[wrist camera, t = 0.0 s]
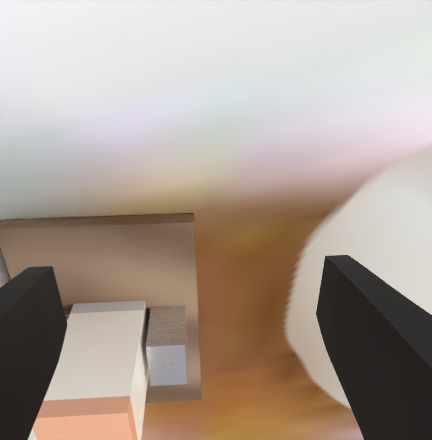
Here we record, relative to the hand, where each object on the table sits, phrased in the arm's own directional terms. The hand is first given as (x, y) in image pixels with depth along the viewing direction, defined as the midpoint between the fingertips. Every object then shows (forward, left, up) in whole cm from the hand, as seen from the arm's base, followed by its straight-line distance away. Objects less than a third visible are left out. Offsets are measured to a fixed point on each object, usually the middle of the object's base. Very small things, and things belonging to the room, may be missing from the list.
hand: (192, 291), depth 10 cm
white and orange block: (-10, +5, -9) cm, 14 cm away
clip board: (-10, +5, -10) cm, 15 cm away
